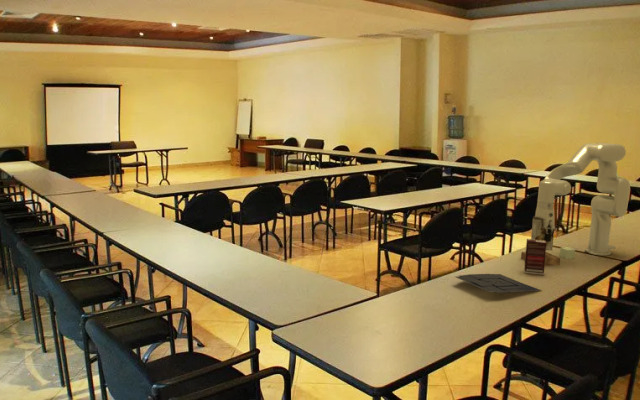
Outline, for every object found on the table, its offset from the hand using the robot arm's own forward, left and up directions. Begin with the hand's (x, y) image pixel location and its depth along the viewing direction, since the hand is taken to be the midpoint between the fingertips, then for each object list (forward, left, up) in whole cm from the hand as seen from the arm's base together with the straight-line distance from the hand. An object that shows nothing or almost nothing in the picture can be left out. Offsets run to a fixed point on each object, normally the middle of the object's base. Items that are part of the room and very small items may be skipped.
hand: (542, 239), depth 259 cm
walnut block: (0, 0, -12) cm, 12 cm away
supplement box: (+14, +15, -12) cm, 24 cm away
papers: (+43, +30, -12) cm, 54 cm away
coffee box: (0, 0, -5) cm, 5 cm away
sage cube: (-19, -4, -12) cm, 23 cm away
